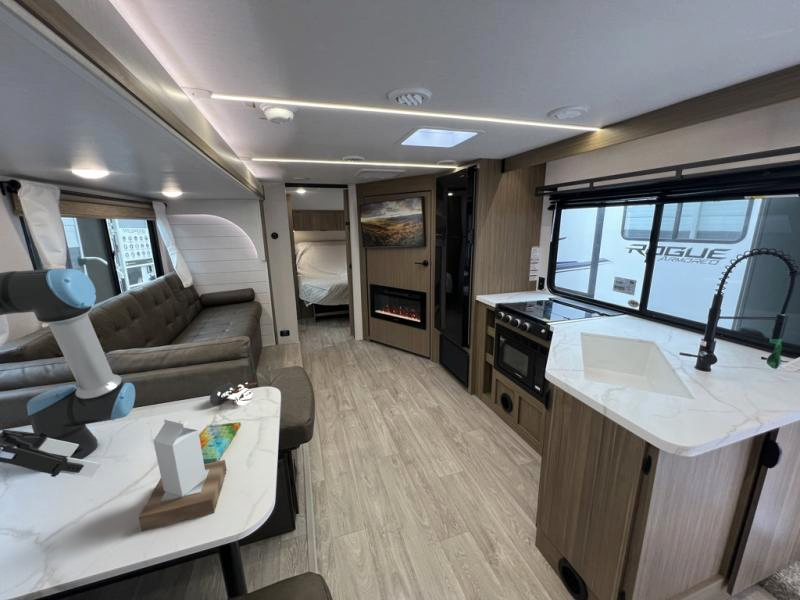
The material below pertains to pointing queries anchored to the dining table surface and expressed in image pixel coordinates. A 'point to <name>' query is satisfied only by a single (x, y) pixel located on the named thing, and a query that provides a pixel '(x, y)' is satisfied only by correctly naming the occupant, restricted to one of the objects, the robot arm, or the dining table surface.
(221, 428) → the puzzle game
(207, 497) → the walnut riser
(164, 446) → the milk carton
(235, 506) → the dining table surface
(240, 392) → the figurine
